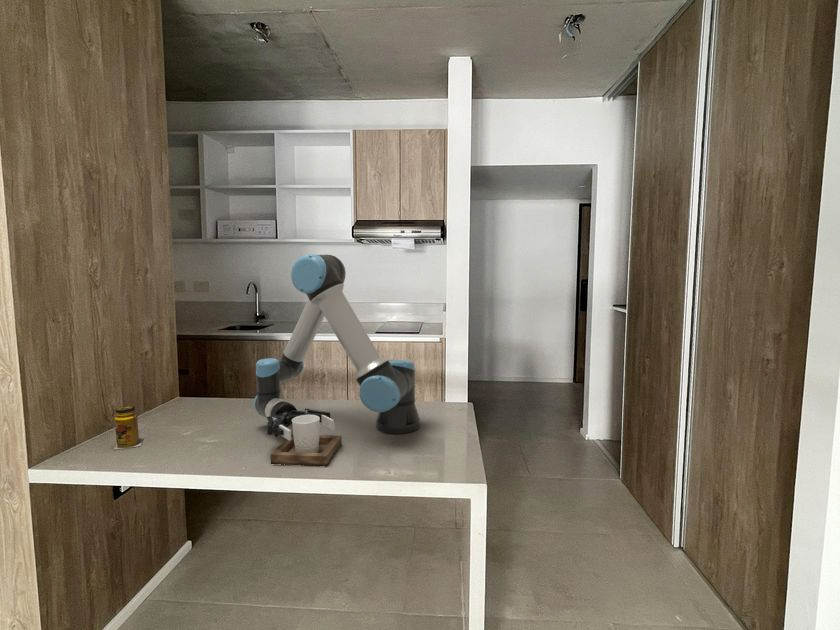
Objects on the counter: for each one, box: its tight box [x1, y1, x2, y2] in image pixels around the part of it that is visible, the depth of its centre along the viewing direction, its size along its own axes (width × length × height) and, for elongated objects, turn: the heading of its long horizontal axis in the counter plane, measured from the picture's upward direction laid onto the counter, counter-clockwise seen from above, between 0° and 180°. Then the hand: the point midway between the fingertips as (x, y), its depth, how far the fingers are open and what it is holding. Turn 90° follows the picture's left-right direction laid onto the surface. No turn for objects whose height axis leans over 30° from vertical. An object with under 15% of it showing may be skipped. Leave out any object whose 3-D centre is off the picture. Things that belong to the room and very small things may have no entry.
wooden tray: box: [269, 433, 343, 468], centre depth 143 cm, size 16×16×3 cm
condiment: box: [113, 405, 145, 451], centre depth 153 cm, size 7×8×12 cm
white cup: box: [291, 415, 321, 453], centre depth 143 cm, size 8×8×10 cm
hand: (312, 430), depth 140 cm, fingers open, 13 cm apart
